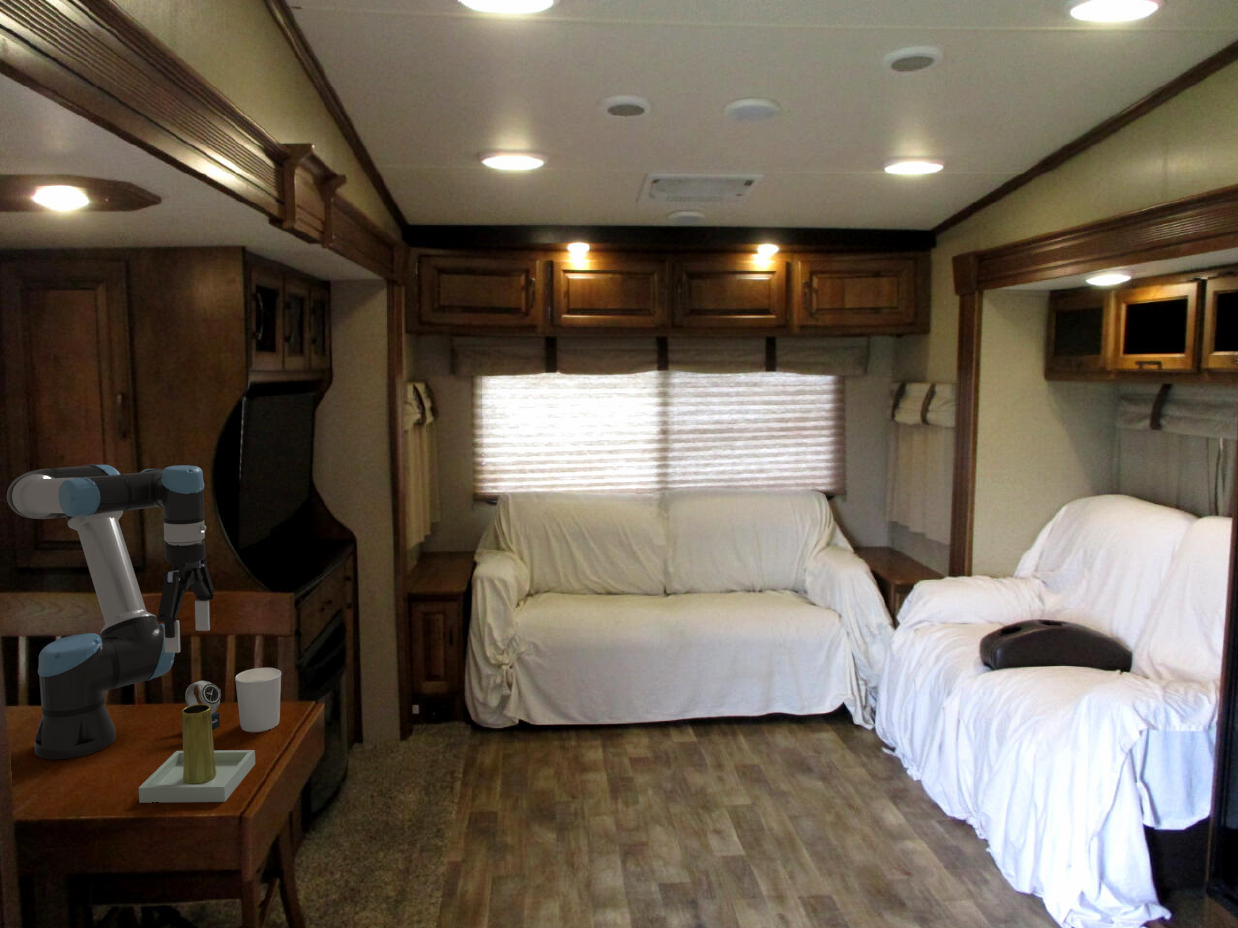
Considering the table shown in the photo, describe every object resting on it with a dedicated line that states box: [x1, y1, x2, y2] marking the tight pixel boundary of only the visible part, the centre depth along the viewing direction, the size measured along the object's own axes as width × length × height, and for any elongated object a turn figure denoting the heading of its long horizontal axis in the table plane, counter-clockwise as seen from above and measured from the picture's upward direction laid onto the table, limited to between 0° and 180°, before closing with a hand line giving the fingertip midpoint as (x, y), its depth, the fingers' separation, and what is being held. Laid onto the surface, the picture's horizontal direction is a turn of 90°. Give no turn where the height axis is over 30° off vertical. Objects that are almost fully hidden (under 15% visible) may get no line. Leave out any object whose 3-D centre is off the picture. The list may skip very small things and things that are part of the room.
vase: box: [181, 703, 216, 784], centre depth 177 cm, size 6×6×14 cm
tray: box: [138, 749, 256, 804], centre depth 177 cm, size 16×16×3 cm
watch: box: [184, 680, 222, 730], centre depth 202 cm, size 6×8×11 cm
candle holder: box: [234, 667, 282, 733], centre depth 205 cm, size 10×10×12 cm
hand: (188, 640), depth 186 cm, fingers open, 13 cm apart
